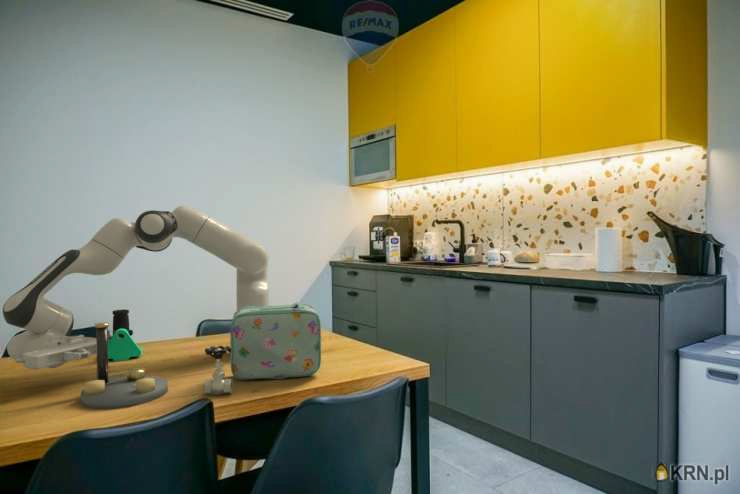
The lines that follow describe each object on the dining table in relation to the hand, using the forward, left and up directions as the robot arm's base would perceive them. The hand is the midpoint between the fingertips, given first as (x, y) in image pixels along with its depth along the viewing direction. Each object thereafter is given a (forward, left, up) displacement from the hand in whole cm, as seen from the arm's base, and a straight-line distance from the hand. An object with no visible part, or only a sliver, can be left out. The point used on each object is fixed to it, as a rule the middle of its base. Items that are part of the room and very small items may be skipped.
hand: (84, 355), depth 128 cm
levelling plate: (-13, +7, -9) cm, 17 cm away
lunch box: (-51, -5, -9) cm, 52 cm away
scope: (+10, -49, -9) cm, 51 cm away
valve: (-37, +10, -9) cm, 39 cm away
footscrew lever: (-10, +2, -7) cm, 12 cm away
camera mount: (+4, -34, -9) cm, 36 cm away
